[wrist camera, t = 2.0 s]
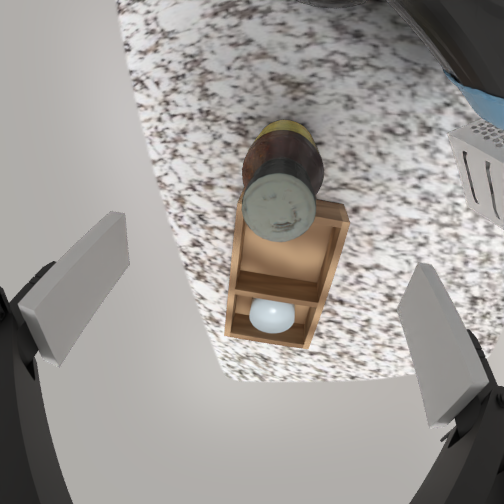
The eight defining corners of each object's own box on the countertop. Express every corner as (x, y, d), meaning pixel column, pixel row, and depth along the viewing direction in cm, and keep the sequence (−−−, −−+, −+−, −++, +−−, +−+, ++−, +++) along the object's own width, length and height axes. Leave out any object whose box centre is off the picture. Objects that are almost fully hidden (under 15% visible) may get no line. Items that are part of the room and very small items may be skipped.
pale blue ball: (255, 280, 43) (252, 297, 40) (298, 287, 43) (298, 304, 40) (250, 312, 46) (247, 329, 43) (290, 319, 46) (289, 336, 43)
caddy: (244, 187, 37) (237, 203, 33) (343, 204, 36) (350, 222, 32) (230, 312, 47) (224, 335, 43) (308, 324, 47) (308, 349, 43)
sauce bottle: (303, 178, 35) (310, 282, 19) (251, 161, 35) (208, 252, 18) (321, 125, 32) (354, 182, 15) (266, 108, 32) (235, 144, 15)
